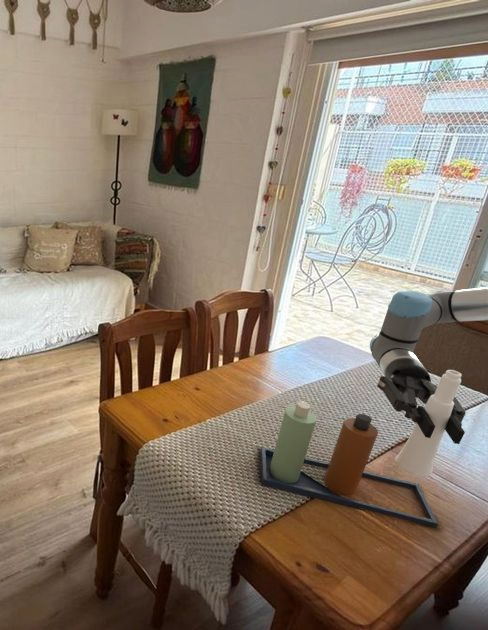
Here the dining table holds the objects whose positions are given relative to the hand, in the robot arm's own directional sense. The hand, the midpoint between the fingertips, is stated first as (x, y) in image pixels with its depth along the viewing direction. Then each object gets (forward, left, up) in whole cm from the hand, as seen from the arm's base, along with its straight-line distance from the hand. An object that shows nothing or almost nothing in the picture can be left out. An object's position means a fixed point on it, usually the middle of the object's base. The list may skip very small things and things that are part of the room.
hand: (444, 434), depth 79 cm
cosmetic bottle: (+3, -5, -12) cm, 13 cm away
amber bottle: (+12, +2, -21) cm, 24 cm away
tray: (+12, +2, -22) cm, 25 cm away
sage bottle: (+21, +9, -21) cm, 31 cm away
